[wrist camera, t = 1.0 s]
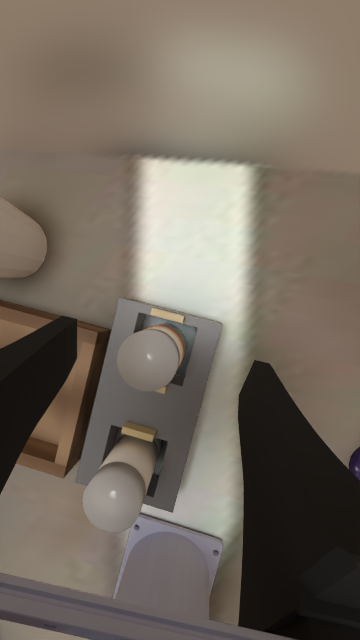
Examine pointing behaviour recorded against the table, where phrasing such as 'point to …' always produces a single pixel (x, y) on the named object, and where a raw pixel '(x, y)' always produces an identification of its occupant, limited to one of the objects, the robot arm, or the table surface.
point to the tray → (71, 401)
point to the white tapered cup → (19, 243)
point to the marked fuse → (151, 356)
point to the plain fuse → (121, 484)
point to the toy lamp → (355, 464)
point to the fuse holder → (149, 402)
